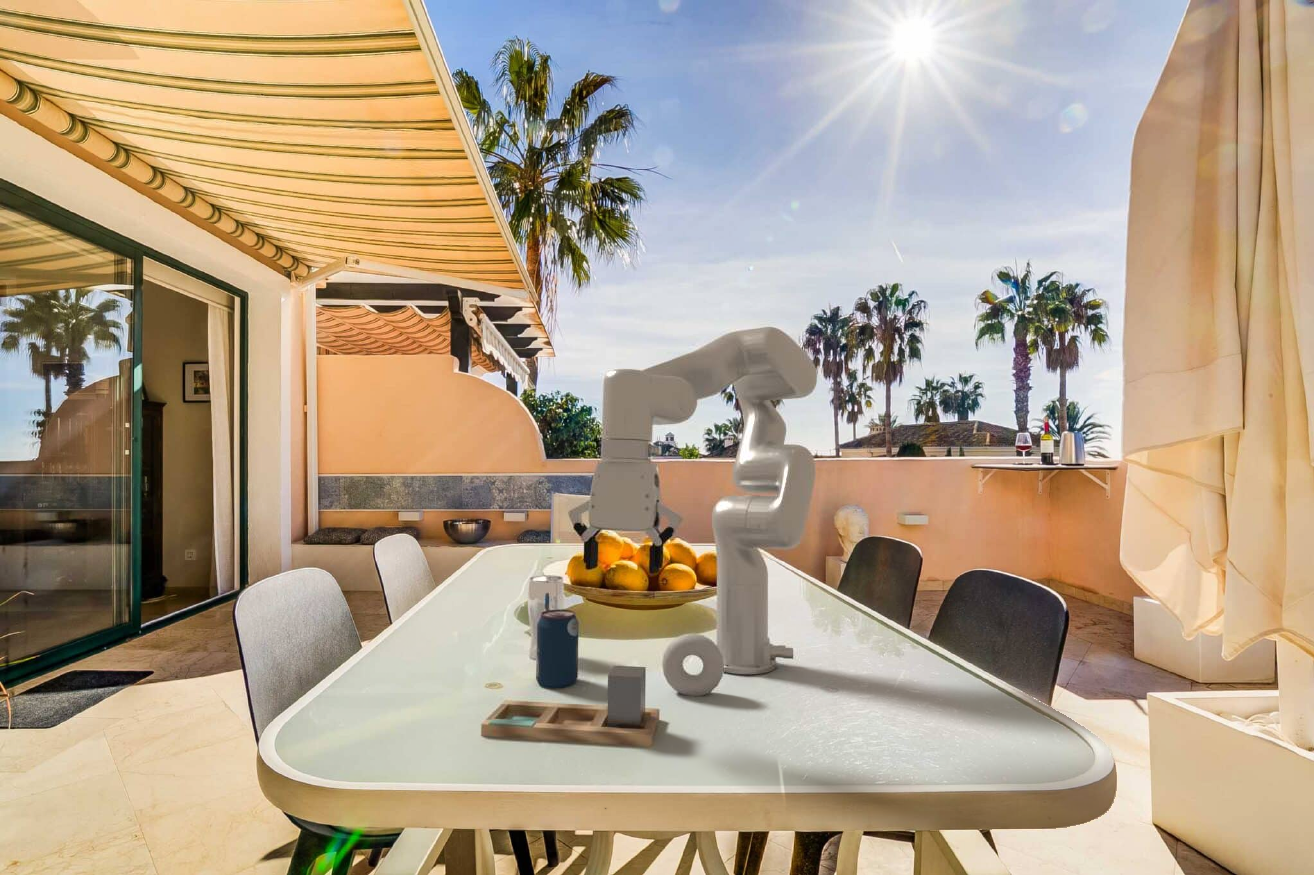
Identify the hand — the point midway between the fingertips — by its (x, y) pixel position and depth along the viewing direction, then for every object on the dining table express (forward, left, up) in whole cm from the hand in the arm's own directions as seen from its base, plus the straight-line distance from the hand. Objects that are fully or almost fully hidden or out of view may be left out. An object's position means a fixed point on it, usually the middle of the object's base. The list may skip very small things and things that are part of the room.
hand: (622, 570), depth 93 cm
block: (-2, +4, -21) cm, 22 cm away
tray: (+6, +4, -22) cm, 23 cm away
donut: (-10, -12, -22) cm, 26 cm away
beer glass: (+20, -30, -22) cm, 42 cm away
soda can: (+13, -14, -22) cm, 29 cm away
